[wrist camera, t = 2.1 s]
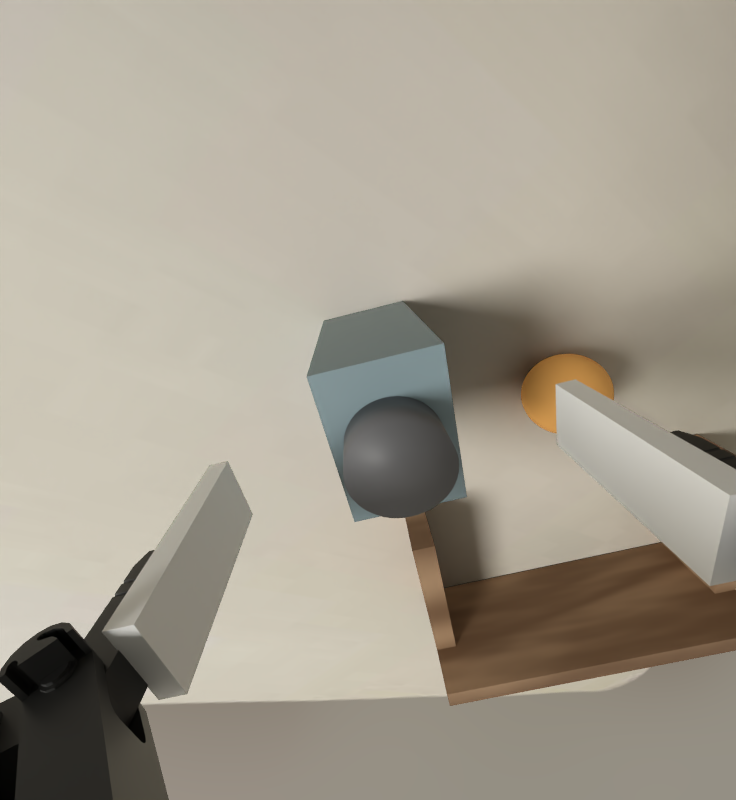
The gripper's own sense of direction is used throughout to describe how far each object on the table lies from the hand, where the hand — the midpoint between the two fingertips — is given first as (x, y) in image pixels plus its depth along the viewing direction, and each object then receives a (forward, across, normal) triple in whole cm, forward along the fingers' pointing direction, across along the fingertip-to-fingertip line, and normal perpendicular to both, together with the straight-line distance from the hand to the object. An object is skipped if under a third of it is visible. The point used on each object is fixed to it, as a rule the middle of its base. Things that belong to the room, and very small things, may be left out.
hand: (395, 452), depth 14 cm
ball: (+8, +11, -4) cm, 14 cm away
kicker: (+10, 0, +1) cm, 10 cm away
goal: (+10, +11, -16) cm, 22 cm away
